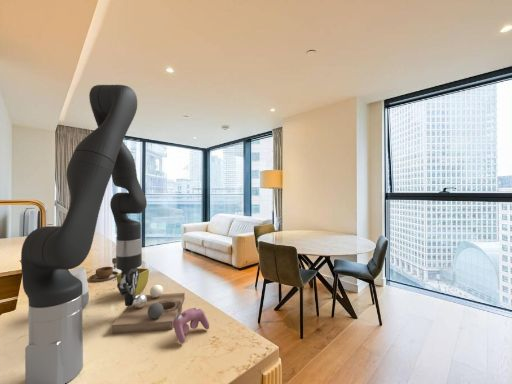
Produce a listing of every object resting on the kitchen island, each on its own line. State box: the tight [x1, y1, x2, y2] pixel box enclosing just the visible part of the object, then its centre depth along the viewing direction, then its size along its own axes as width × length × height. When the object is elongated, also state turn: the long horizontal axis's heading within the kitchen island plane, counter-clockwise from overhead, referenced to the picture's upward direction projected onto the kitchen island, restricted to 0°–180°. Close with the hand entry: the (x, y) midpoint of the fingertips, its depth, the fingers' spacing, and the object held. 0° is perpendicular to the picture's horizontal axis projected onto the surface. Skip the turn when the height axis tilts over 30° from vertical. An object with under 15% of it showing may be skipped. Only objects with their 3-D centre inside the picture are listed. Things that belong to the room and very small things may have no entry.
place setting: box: [88, 257, 120, 283], centre depth 118 cm, size 18×20×6 cm
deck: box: [111, 292, 186, 335], centre depth 79 cm, size 20×18×2 cm
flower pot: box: [115, 267, 150, 297], centre depth 96 cm, size 9×9×9 cm
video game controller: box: [173, 307, 210, 345], centre depth 68 cm, size 10×5×7 cm, turn 141°
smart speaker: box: [69, 266, 90, 310], centre depth 83 cm, size 10×9×14 cm
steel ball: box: [132, 293, 147, 308], centre depth 79 cm, size 4×4×4 cm
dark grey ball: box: [148, 303, 163, 319], centre depth 72 cm, size 4×4×4 cm
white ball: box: [149, 284, 164, 298], centre depth 87 cm, size 4×4×4 cm
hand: (129, 304), depth 79 cm, fingers closed
